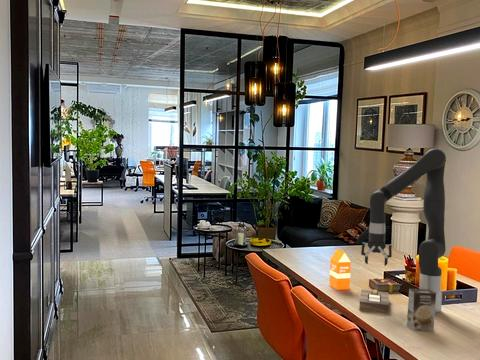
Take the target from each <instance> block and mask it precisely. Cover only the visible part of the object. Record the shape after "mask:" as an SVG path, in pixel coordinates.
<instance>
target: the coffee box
mask: <svg viewBox="0 0 480 360" xmlns="http://www.w3.org/2000/svg"><path fill="white" fill-rule="evenodd" d="M407 302H408V303H407V313H406V314H407V316H406V317H407V318H406V326H407V327H408V328H409V329H410V330H411V331H413V332H434V331H435V315H436V313H435V302H436V293H435V292H433V291H431V290H430V289H419V288H409V289H408V301H407Z"/></svg>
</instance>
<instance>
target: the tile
mask: <svg viewBox="0 0 480 360" xmlns="http://www.w3.org/2000/svg"><path fill="white" fill-rule="evenodd" d="M369 301H371V302H380V295H371V294H369Z"/></svg>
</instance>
